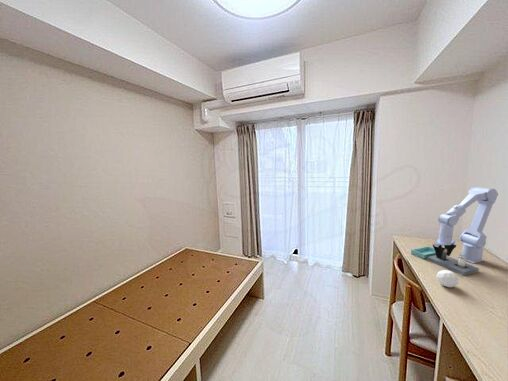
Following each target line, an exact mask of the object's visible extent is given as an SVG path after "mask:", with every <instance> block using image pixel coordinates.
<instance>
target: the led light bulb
mask: <svg viewBox="0 0 508 381" xmlns="http://www.w3.org/2000/svg"><path fill="white" fill-rule="evenodd" d="M446 256H447V249H445V250H444V251H443V253H442V257H441V258H439V259H441V260H443V261H446Z"/></svg>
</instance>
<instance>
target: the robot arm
mask: <svg viewBox="0 0 508 381" xmlns="http://www.w3.org/2000/svg"><path fill="white" fill-rule="evenodd" d="M498 195H499V193H498V191H497V190H496V189H495V188H489V187H479V186H472V187H471V188H470V189H469V190H468V195H467V196H466V197H465V198H463V200H462V201H461V202H460V203H459V204H455V205H453V206H452V207H451V208H449V210H448V211H447V212H446V213H442V214H440V215H439V216H438V222H439V226H440V227H439V232H438V239H436V240H435V241H436V242H434V243H433V244H432V248H434V250H435V253H436V257H438V258H441V257H442V253H443V251H444V250H445V249H447V256H448V257H450V256H451V255H452V253H453V250H454V249H456V248H457V245H456V240H454V239H453V234H454V228H455V227H454V226H456V225H457V223H458V222H459V220H460V218H461V217H462V216H463V215H464V214H465V213H466V212H467V211H466V210H467V208H468V207H470V206H471V205H472V204H473V203H475V202H477V203H478V207H477V208H476V211H475V214H474V216H473V218H472V221H471V224H470V227H469V228H467V229H463V232H462V233H461V235H460V236H459V241H461V244H462V251H461V255H465V256H466V262H469V263H472V264H477V263H481V262H484V259H483V253H484V249H483V247H485V246H486V244H487V235H486V234H485V233H484V232H483V230H484V228H485V226H486V223H487V221H488V218H489V216H490V213H491V211H492V208H493V206H494V204H495V203H496V201H497V197H498ZM443 246H444V247H443Z"/></svg>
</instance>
